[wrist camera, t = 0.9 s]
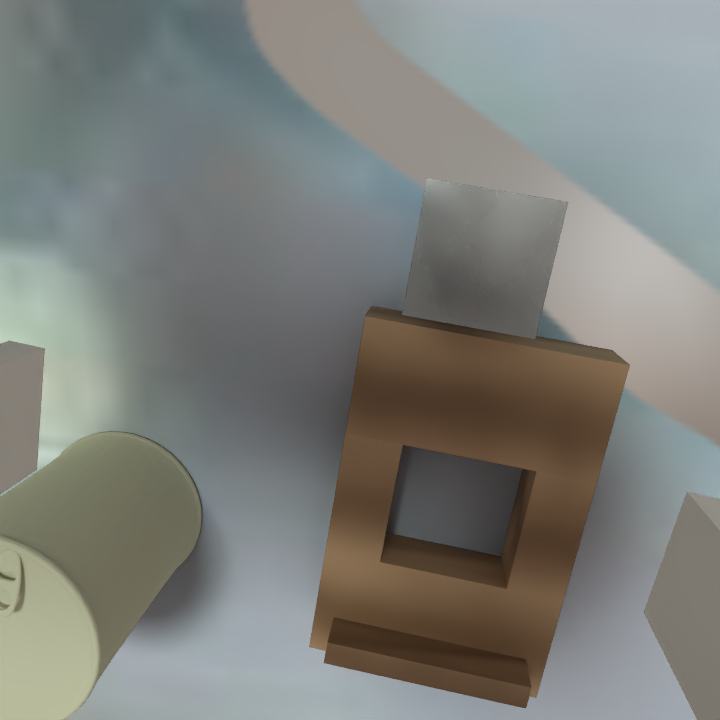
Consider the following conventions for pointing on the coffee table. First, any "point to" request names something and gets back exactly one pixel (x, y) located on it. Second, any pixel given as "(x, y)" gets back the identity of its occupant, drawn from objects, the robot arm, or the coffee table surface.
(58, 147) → the coffee table surface
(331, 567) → the jig
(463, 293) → the grey square block
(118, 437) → the can
